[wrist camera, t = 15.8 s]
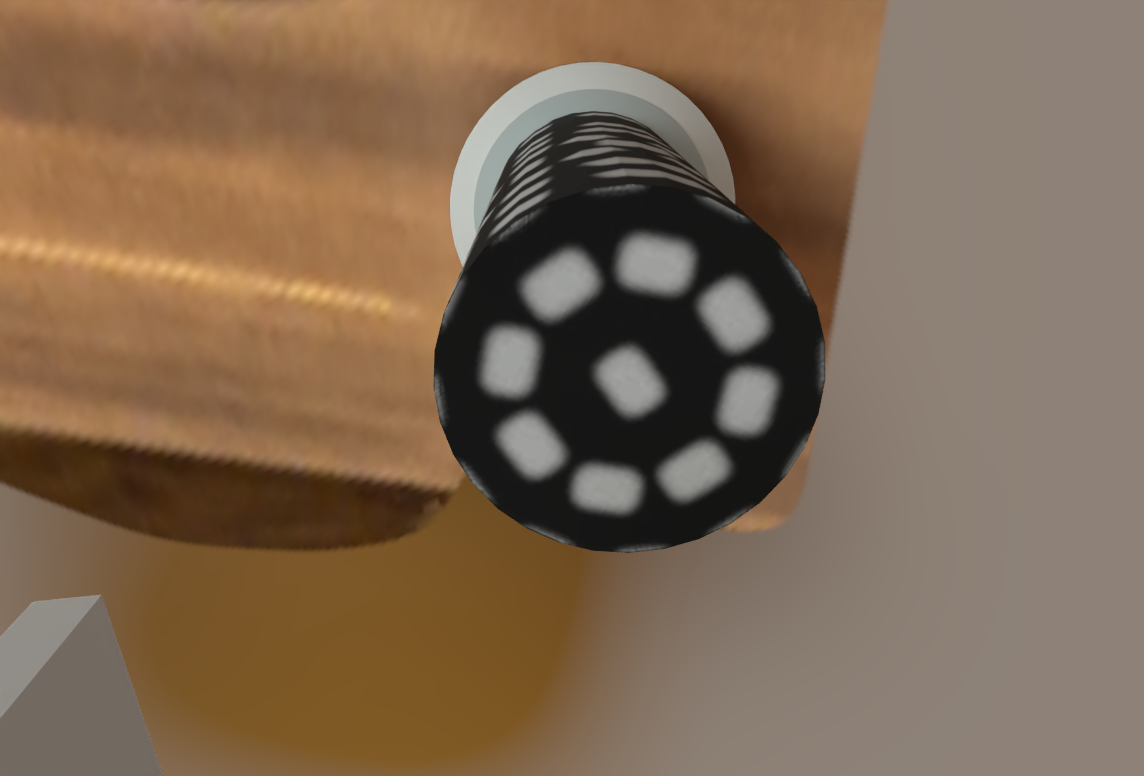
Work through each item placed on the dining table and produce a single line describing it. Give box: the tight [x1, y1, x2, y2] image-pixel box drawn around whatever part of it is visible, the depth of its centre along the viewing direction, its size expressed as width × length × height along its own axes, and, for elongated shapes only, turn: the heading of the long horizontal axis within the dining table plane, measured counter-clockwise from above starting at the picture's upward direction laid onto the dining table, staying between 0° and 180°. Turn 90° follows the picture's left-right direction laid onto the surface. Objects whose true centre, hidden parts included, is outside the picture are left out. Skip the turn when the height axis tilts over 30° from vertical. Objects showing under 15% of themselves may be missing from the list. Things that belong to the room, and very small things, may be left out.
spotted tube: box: [434, 111, 825, 553], centre depth 29 cm, size 8×8×20 cm
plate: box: [450, 61, 735, 266], centre depth 39 cm, size 12×12×3 cm
